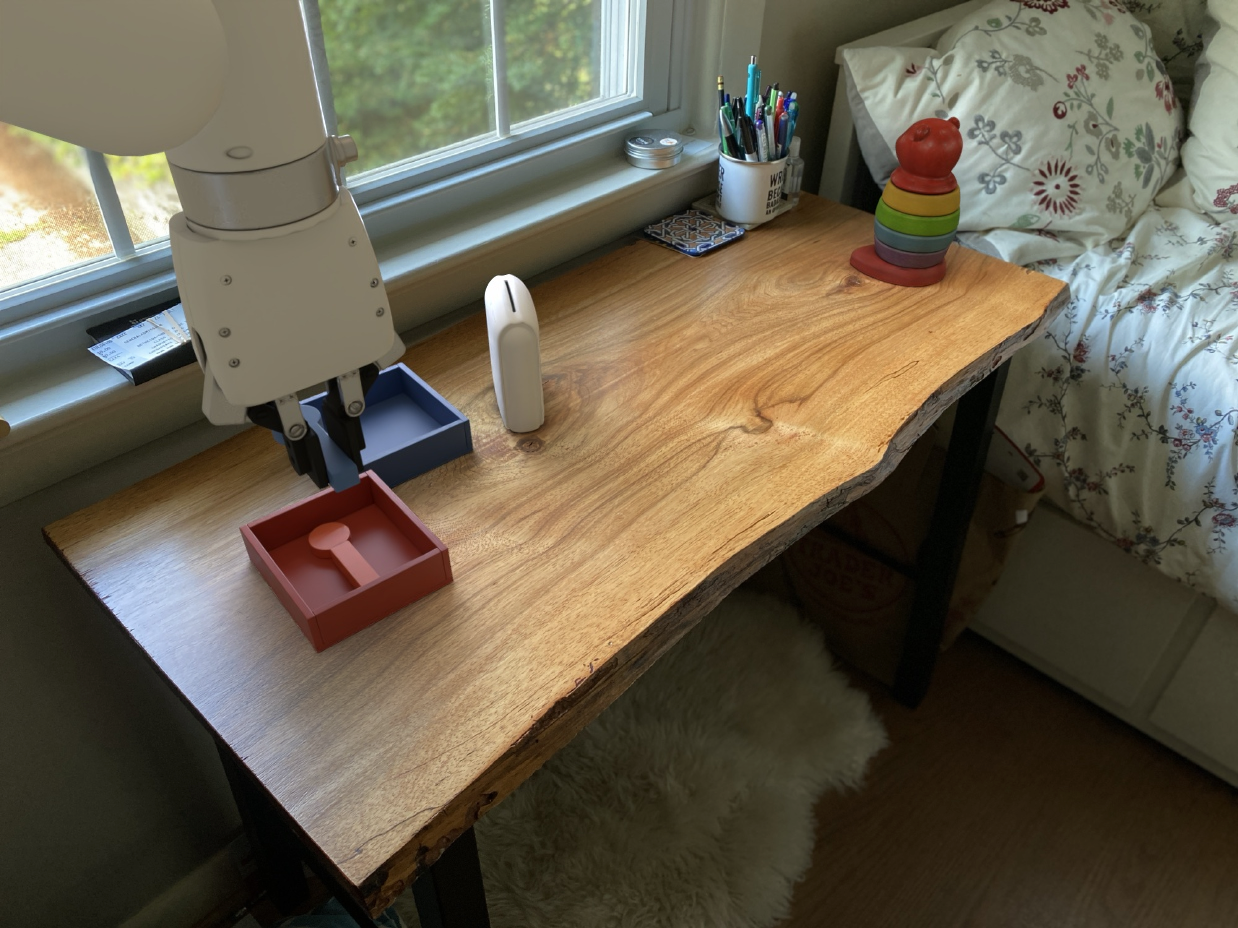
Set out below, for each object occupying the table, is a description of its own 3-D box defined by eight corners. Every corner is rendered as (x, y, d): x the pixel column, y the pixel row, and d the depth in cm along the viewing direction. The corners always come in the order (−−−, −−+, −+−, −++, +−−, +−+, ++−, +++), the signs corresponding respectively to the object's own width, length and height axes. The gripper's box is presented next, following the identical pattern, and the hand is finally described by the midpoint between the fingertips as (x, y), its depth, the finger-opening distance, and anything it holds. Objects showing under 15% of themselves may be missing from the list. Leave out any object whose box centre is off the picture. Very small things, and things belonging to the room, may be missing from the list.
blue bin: (360, 502, 79) (353, 469, 77) (299, 435, 86) (291, 404, 84) (473, 450, 84) (469, 419, 82) (406, 392, 92) (401, 362, 90)
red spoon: (395, 587, 70) (392, 574, 69) (356, 607, 69) (353, 594, 68) (341, 525, 76) (337, 512, 75) (304, 542, 74) (300, 530, 73)
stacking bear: (912, 243, 118) (942, 98, 106) (968, 277, 110) (1006, 126, 99) (841, 260, 114) (865, 112, 103) (894, 296, 107) (926, 141, 96)
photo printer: (490, 377, 94) (478, 265, 86) (532, 372, 94) (524, 260, 87) (502, 437, 86) (491, 319, 78) (549, 431, 87) (542, 314, 79)
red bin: (317, 653, 66) (307, 620, 64) (249, 560, 73) (238, 527, 71) (453, 581, 71) (448, 548, 69) (378, 501, 79) (371, 468, 77)
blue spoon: (373, 477, 57) (369, 459, 56) (324, 499, 56) (319, 481, 55) (311, 411, 63) (306, 394, 62) (265, 429, 61) (260, 411, 60)
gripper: (367, 126, 52) (415, 397, 64) (69, 198, 45) (184, 490, 56) (434, 165, 48) (472, 449, 59) (115, 253, 40) (230, 558, 52)
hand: (331, 467), depth 58 cm, fingers closed on blue spoon, 1 cm apart
